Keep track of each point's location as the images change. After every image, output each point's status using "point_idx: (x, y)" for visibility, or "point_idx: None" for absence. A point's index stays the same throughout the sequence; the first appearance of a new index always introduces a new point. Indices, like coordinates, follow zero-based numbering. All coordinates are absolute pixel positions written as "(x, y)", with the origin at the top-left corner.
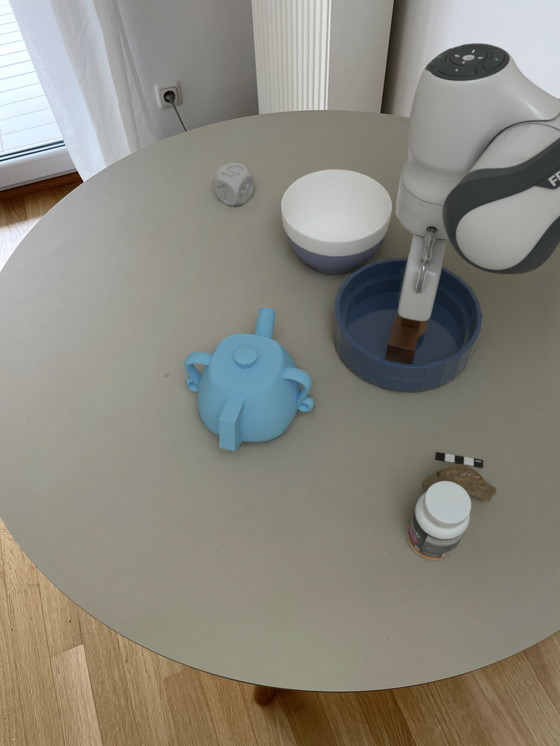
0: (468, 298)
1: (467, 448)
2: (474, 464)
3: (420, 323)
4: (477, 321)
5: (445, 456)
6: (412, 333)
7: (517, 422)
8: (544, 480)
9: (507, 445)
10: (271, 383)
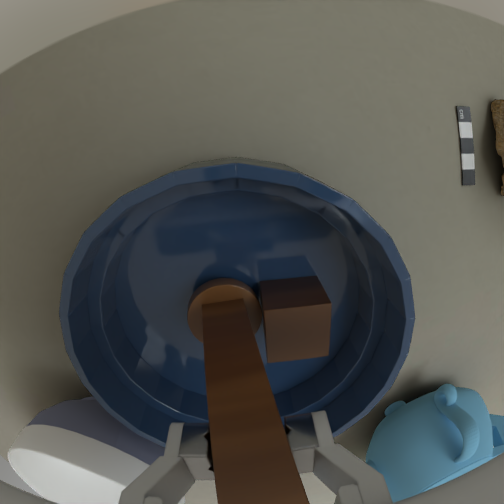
0: (110, 225)
1: (445, 132)
2: (468, 120)
3: (216, 300)
4: (201, 181)
5: (467, 168)
6: (282, 322)
7: (367, 44)
8: (447, 16)
9: (418, 63)
10: (483, 459)
